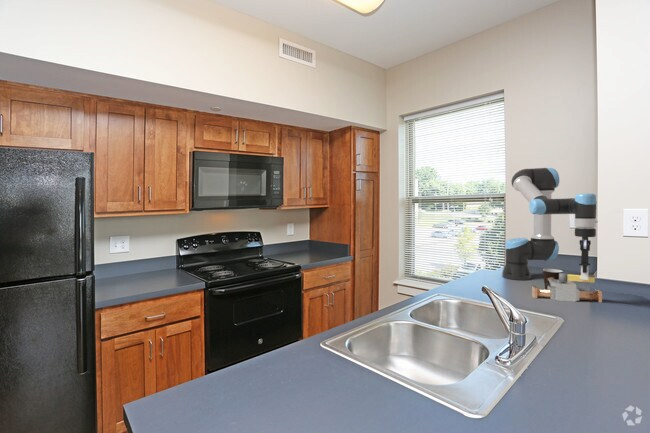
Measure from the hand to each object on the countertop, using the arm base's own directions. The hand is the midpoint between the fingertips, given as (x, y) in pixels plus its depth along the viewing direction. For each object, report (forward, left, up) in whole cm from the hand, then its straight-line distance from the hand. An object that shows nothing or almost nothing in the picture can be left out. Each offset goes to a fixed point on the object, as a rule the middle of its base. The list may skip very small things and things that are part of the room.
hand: (584, 279), depth 151 cm
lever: (-2, -2, -2) cm, 4 cm away
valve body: (-3, -7, -10) cm, 13 cm away
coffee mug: (-18, -6, -11) cm, 22 cm away
